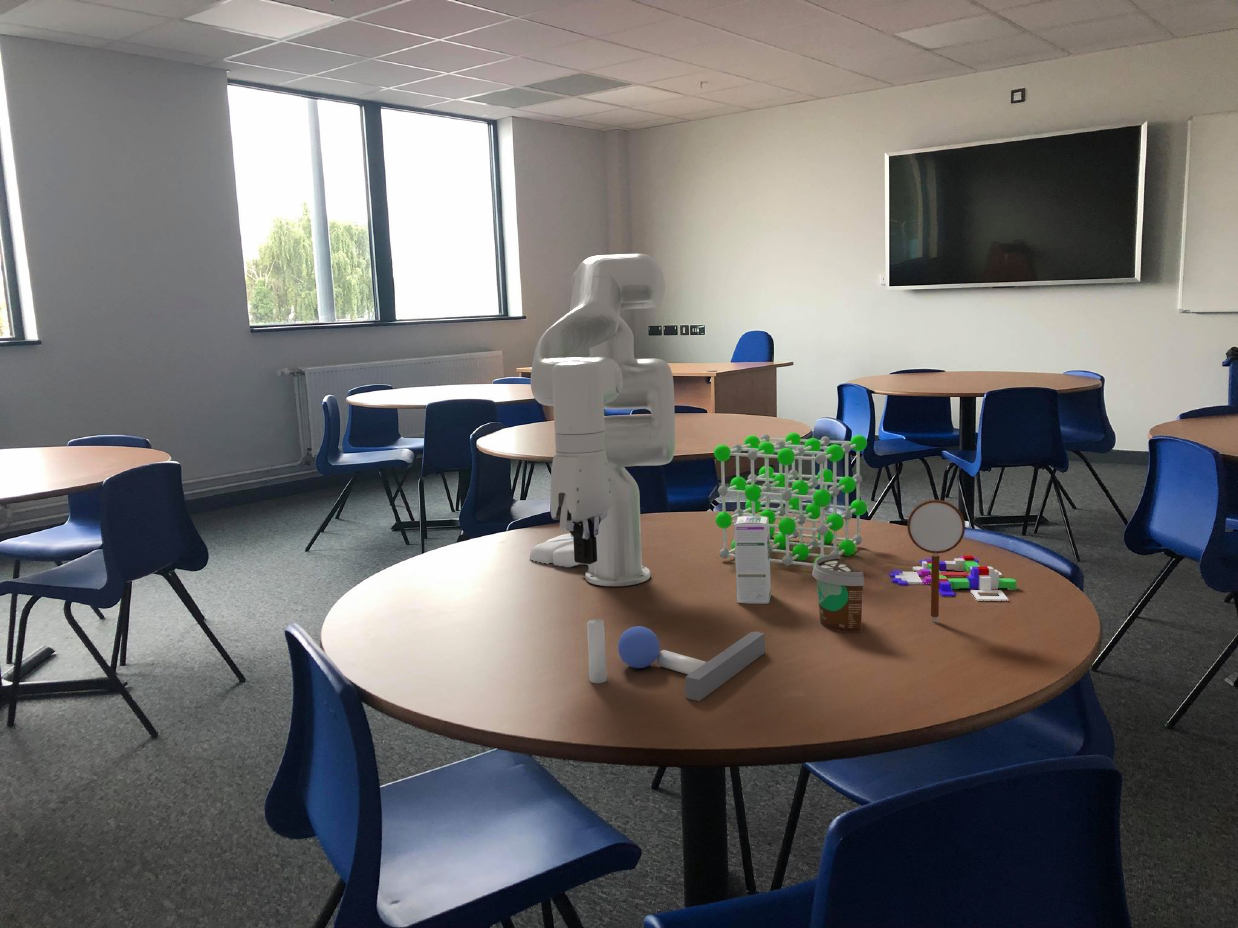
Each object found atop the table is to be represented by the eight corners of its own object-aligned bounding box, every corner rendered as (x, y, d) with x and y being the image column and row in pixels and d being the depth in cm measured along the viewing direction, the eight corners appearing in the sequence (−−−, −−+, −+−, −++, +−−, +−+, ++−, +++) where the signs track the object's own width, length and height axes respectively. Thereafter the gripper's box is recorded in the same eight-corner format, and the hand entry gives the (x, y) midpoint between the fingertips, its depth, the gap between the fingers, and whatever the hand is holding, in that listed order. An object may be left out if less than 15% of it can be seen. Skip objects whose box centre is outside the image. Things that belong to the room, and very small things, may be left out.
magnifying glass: (963, 622, 149) (965, 499, 145) (963, 625, 147) (965, 501, 144) (906, 618, 151) (907, 498, 148) (906, 621, 150) (907, 500, 147)
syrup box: (769, 604, 162) (768, 522, 159) (735, 603, 163) (733, 522, 160) (771, 594, 167) (769, 515, 165) (737, 593, 168) (736, 515, 166)
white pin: (656, 666, 135) (702, 680, 129) (658, 650, 135) (705, 663, 129) (666, 665, 136) (713, 679, 131) (668, 649, 136) (715, 662, 131)
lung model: (519, 561, 198) (600, 547, 216) (577, 575, 186) (657, 559, 205) (520, 530, 197) (601, 519, 215) (578, 542, 186) (658, 529, 204)
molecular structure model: (869, 546, 197) (869, 433, 194) (828, 576, 177) (827, 450, 173) (763, 535, 210) (761, 429, 206) (713, 562, 190) (710, 445, 186)
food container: (803, 612, 156) (802, 555, 155) (839, 610, 157) (839, 552, 155) (825, 637, 144) (825, 575, 143) (864, 635, 145) (864, 572, 143)
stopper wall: (686, 698, 124) (685, 676, 123) (752, 650, 140) (752, 631, 140) (699, 701, 123) (698, 679, 122) (764, 652, 139) (764, 633, 138)
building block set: (883, 565, 185) (883, 543, 184) (991, 565, 182) (992, 543, 181) (901, 604, 161) (901, 579, 160) (1026, 605, 157) (1027, 580, 157)
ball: (647, 682, 133) (623, 669, 138) (674, 651, 135) (649, 639, 140) (626, 654, 130) (603, 642, 135) (654, 623, 132) (630, 613, 137)
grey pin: (586, 681, 131) (583, 623, 129) (596, 675, 133) (593, 618, 131) (600, 684, 130) (597, 625, 128) (609, 678, 131) (607, 620, 130)
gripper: (589, 436, 148) (594, 548, 151) (529, 449, 136) (536, 571, 139) (628, 438, 144) (633, 553, 147) (570, 452, 131) (576, 577, 134)
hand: (585, 561), depth 143 cm, fingers closed
